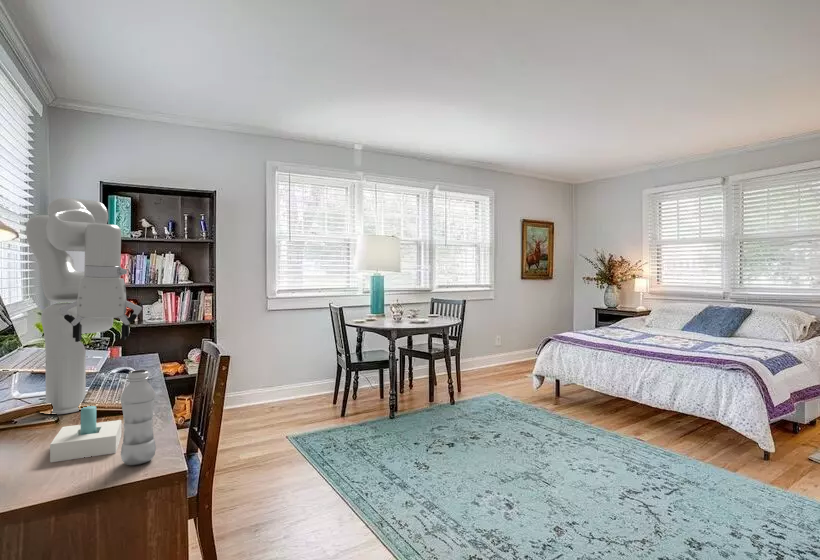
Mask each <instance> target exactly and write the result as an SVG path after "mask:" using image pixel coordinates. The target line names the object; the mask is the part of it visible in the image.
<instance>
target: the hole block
mask: <svg viewBox="0 0 820 560" xmlns="http://www.w3.org/2000/svg"><path fill="white" fill-rule="evenodd" d="M122 421H123V419H117V420H111V421H110V420H109V421H100V422H96V433H93V434H85V435H81V424H75V425H67V426H62V427H61V428H60V430H59V431H58V433H57V434H56V435H55V437H54V438H53V440H51V442H50V443H49V463H55V462H56V463H57V462H63V461H70V460H76V459H82V458H83V459H84V457H85V458H89V457H91V456H92V457H97V456H104V455H111V454H116V453H117V451H118V447H119V445H120V442H121V438H122V434H123V433H122V428H123V427H122V424H123V423H122Z"/></svg>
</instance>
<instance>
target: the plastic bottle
mask: <svg viewBox="0 0 820 560" xmlns="http://www.w3.org/2000/svg"><path fill="white" fill-rule="evenodd" d="M149 377H150V375H149V370H148V369H136V370H131V371H129V372H128V378H127V381H128V383H129V384H128V385H127V386H126V387H125V388H124V390H123V392H121V395H120V404H121V411H122V414H123V415H122V416H123V418H122V419H123V422H124V423H123V438H122V444H121V449H120V450H121V451H120V458H121V462H122V463H124V465H126V466H135V465H136V466H139V465H141V464H145V463H147V462H150V461H151V460H152V459H153V458H154V456H155V454H156V450H157V445H156V440H155V436H154V435H155V434H154V426H153V416H154V407H155V400H156V392H155V389H154V388H153V386H152V385H151V383H149V382H148V381H149Z"/></svg>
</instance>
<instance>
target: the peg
mask: <svg viewBox="0 0 820 560" xmlns="http://www.w3.org/2000/svg"><path fill="white" fill-rule="evenodd" d="M96 423H97V406H96V405H91V406H87V407H83V408H81V411H80V425H81V435H85V434H93V433H96Z"/></svg>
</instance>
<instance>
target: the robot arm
mask: <svg viewBox="0 0 820 560" xmlns="http://www.w3.org/2000/svg"><path fill="white" fill-rule="evenodd" d="M46 210H47V214H40V215H36V216H32V217H30V218H29V219H28V220H27V222H26V226H25V235H26V239H27V243H28V246H29V248H30V250H31V252H32V253H33V255H34V257H35V259H36V261H37V263H38V266H39V272H40V278H41V279H40V280H41V285H42V286H41V287H42V290H43V294H44V296H45V299H46V300H47V301H50V302H53V304H50V305H48V306H46V307H45V308H44V309H43V310H42V312H41V325H42V330H43V335H44V336H43V337H44V344H45V345H44V347H45V351H44V352H45V404H46V403H51V404H52V405H53V411H52V413H56V414H57V415H65V414H71V413H76V412H80V411H79V408H78V406H79V404H80V403H81V401H82V400H83V399H84V397H85V395H86V392H87V391H86V390H87V389H86V386H87V383H86V379H87V377H86V375H87V374H86V373H87V372H86V371H87V370H86V368H87V367H86V366H87V365H86V363H87V362H86V358H87V356H86V355H87V354H86V353H87V352H86V347H85V345H84V343H82V337H83V335H82V334H95V333H104V332H107V331H109V330H110V329H111V328H112V327H113V325H114V319H118V320H120V321H121V323H122V324H121V333H120V335H121V336H120V337H121V341H126V339H127V337H129V336H130V324H131V323H132V322H133V321H134V320H135V319H137V318H138V316H139V315H140V313H141V311H142V310H143V308H142V306H140V305H138V304H135V303H133V302H132V301H128V300H127V289H126V282H125V279H124V278H121V276H122V275H123V276H124V275H128V269H127V268H122V266H121V259H122V258H121V255H122V253H121V251H122V231H121V229H122V228H120V227H119V226H118V225H117V224H108V222H109V221H108V220H109V213H108V209H107V207H106V206H105V204H104V203H102V202H100V201H97V200H92V199H91V200H90V199H81V198H74V197H73V198H71V197H58V198H56V199H53V200H51V201H50V202H49V204H48V206H47V209H46ZM68 252H84V267H83V268H84V269H83V270H84V271H78V270H76V268H75V263H74V259H73V257H72V256H71V255H70V254H69V253H68ZM127 308H129V309H131V310H132V311H133V313H132V314H131V315H130V316H129V317H128V316H127V315H126V313H127Z"/></svg>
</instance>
